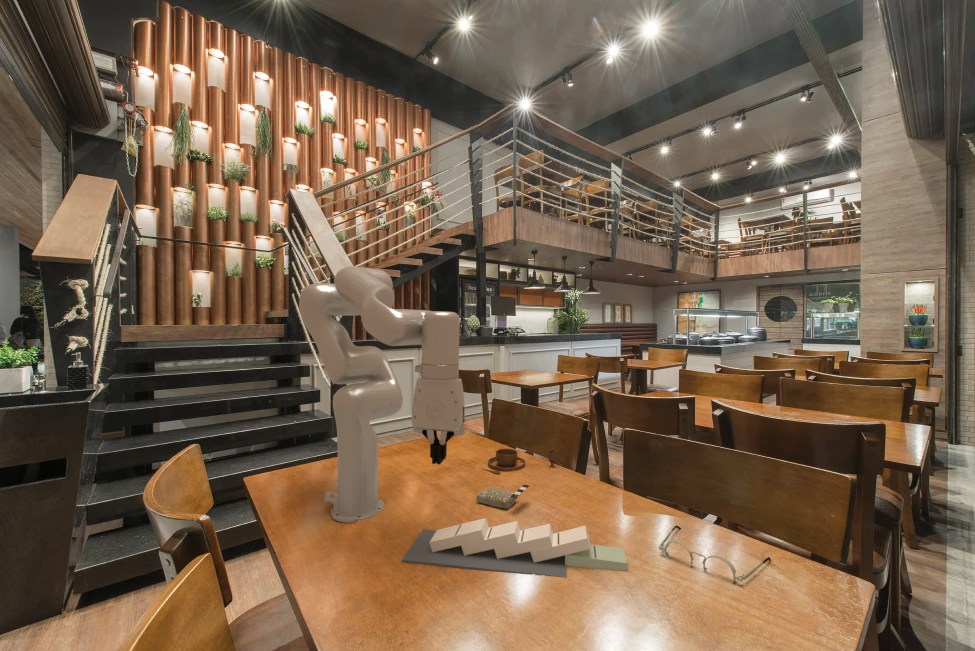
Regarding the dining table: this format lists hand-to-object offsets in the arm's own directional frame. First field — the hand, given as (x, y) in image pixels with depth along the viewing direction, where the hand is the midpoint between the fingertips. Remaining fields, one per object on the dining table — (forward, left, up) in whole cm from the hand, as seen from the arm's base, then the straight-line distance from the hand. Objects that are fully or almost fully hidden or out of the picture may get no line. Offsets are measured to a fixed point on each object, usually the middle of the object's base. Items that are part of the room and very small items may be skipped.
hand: (438, 461), depth 85 cm
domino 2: (+6, 0, -16) cm, 17 cm away
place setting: (+11, +49, -18) cm, 53 cm away
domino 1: (-1, 0, -16) cm, 16 cm away
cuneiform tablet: (+16, +20, -15) cm, 29 cm away
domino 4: (+19, 0, -16) cm, 25 cm away
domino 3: (+12, 0, -16) cm, 20 cm away
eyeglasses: (+53, +5, -18) cm, 56 cm away
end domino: (+25, 0, -16) cm, 30 cm away
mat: (+10, 0, -17) cm, 20 cm away
